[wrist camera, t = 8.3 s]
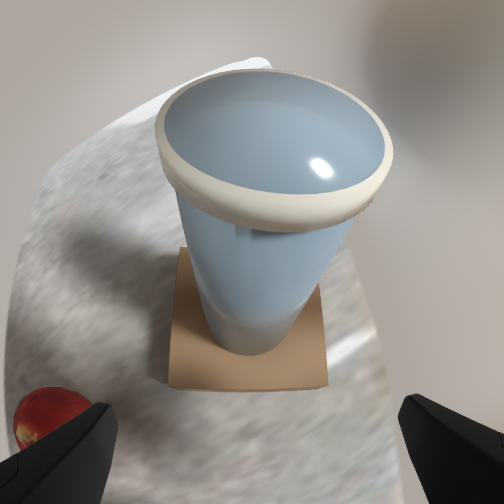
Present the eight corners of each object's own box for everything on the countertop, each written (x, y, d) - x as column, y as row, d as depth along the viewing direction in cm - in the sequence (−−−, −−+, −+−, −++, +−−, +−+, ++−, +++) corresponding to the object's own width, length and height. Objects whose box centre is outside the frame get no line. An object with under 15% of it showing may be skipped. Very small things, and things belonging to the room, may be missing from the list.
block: (317, 389, 17) (328, 385, 15) (176, 389, 17) (167, 385, 15) (306, 267, 22) (314, 249, 20) (185, 265, 21) (180, 247, 19)
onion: (54, 457, 13) (-21, 460, 6) (60, 385, 16) (-15, 359, 9) (126, 482, 13) (67, 512, 6) (131, 404, 16) (70, 393, 9)
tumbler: (303, 349, 16) (434, 196, 5) (209, 366, 15) (147, 222, 4) (282, 268, 19) (337, 72, 8) (198, 280, 18) (162, 75, 7)
